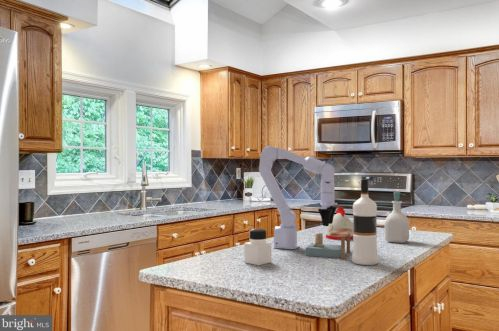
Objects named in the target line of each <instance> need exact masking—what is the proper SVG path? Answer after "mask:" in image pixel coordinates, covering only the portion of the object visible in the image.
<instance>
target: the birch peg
mask: <svg viewBox="0 0 499 331" xmlns="http://www.w3.org/2000/svg"><path fill="white" fill-rule="evenodd" d="M323 235H324V233H322V232H315V234H314V243H315V247H323V244H324V241H323V240H324V239H323V238H324V236H323Z"/></svg>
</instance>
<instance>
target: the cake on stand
mask: <svg viewBox="0 0 499 331" xmlns="http://www.w3.org/2000/svg"><path fill="white" fill-rule="evenodd" d="M345 212H346V210H345V209H344V207H342V206H338V207H337V209H336V211H335V213H336V214H334V217H333V222H332V224H329V226H326V230H325V238H326V239H328V240H335V241H341V236H330V233H331V232H333V231H334V230H335V229H337V228H347V229H352V232H351V233H350V241H353V234H354V227H353V222H352V221H351V220H350V218H349V216H347V215H346V213H345ZM345 241H347V237H345Z"/></svg>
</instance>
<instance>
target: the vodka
mask: <svg viewBox="0 0 499 331" xmlns="http://www.w3.org/2000/svg"><path fill="white" fill-rule="evenodd" d="M377 210H378V204H377V203H376V202H375V201H374V200H373V199H372V198H370V197H369V179H366V178H361V179H360V198H358V199H357V200H355V201H354V202H353V204H352V215H353V216H352V217H353V218H352V219H353V222H352V223H353V227H354V234H353V239H352V241H353V243H352V245H353V247H352V255H351V262H352V263H354V264H355V265H359V266H375V265H377V264H378V263H379V262H380V261H379V254H378V253H379V252H378V245H377V244H378V242H377V241H378V240H377V239H378V235H377V232H378V231H377V228H378V227H377V223H378V222H377V215H378V213H377V212H378V211H377Z"/></svg>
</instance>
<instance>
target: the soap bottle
mask: <svg viewBox="0 0 499 331" xmlns="http://www.w3.org/2000/svg"><path fill="white" fill-rule="evenodd" d="M401 195H403V196H406V194H404V193H401V191H393V198H394V200H392V201H391V203H392V211H391V213H389V214H388V215H387V216H386V218H385V220H384V239H385V241H386V242H387V243H393V242H394V243H396V244H405V243H407V242H408V241H409V239H410V221H409V218H408V217H407V215H405V214H404V213H403V212H402V210H401V209H402V206H401V204H402V203H403V201H401V200H400V196H401Z"/></svg>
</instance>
